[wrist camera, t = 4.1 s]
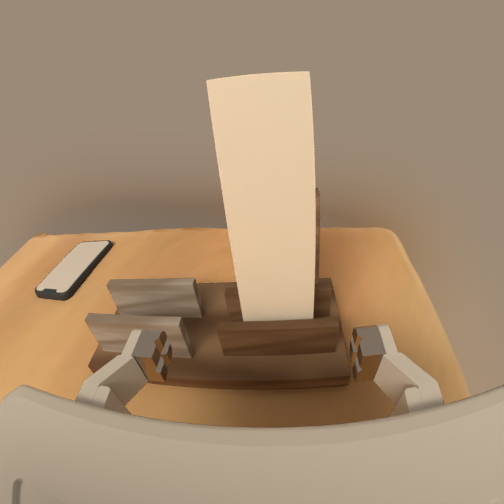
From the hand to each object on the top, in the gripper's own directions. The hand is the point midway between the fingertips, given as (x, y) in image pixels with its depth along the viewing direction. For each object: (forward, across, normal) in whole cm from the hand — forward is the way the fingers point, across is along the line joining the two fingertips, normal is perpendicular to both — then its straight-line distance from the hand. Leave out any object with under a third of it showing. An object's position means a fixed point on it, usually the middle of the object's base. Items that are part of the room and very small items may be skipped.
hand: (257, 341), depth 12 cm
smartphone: (+25, -33, -14) cm, 44 cm away
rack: (+12, -6, -13) cm, 19 cm away
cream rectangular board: (+11, +1, -12) cm, 16 cm away
